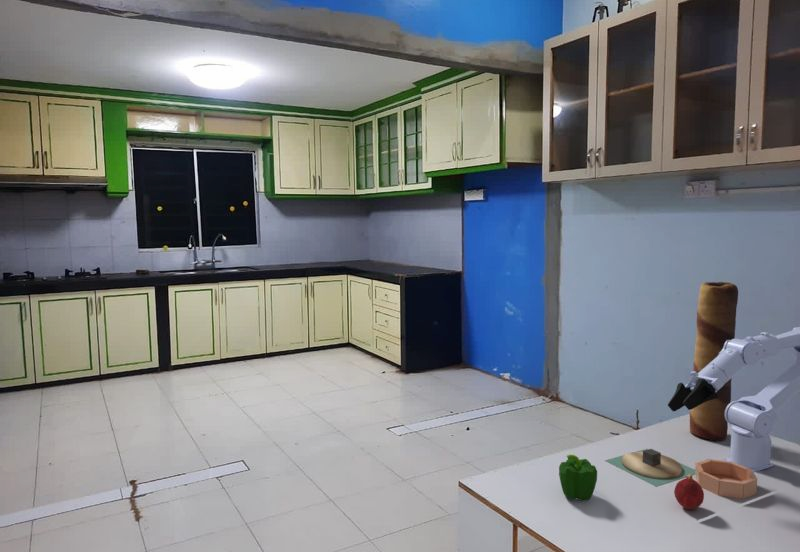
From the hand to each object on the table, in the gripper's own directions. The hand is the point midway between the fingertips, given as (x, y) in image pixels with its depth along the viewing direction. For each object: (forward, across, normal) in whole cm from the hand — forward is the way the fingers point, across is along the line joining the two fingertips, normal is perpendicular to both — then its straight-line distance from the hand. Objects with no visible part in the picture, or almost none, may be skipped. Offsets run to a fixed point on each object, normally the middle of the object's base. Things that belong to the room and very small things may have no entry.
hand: (678, 407), depth 137 cm
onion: (+17, +7, +15) cm, 24 cm away
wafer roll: (-15, -31, +20) cm, 39 cm away
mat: (+11, -12, +10) cm, 19 cm away
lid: (+11, -12, +9) cm, 19 cm away
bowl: (+3, -2, +20) cm, 21 cm away
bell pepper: (+34, 0, 0) cm, 34 cm away
